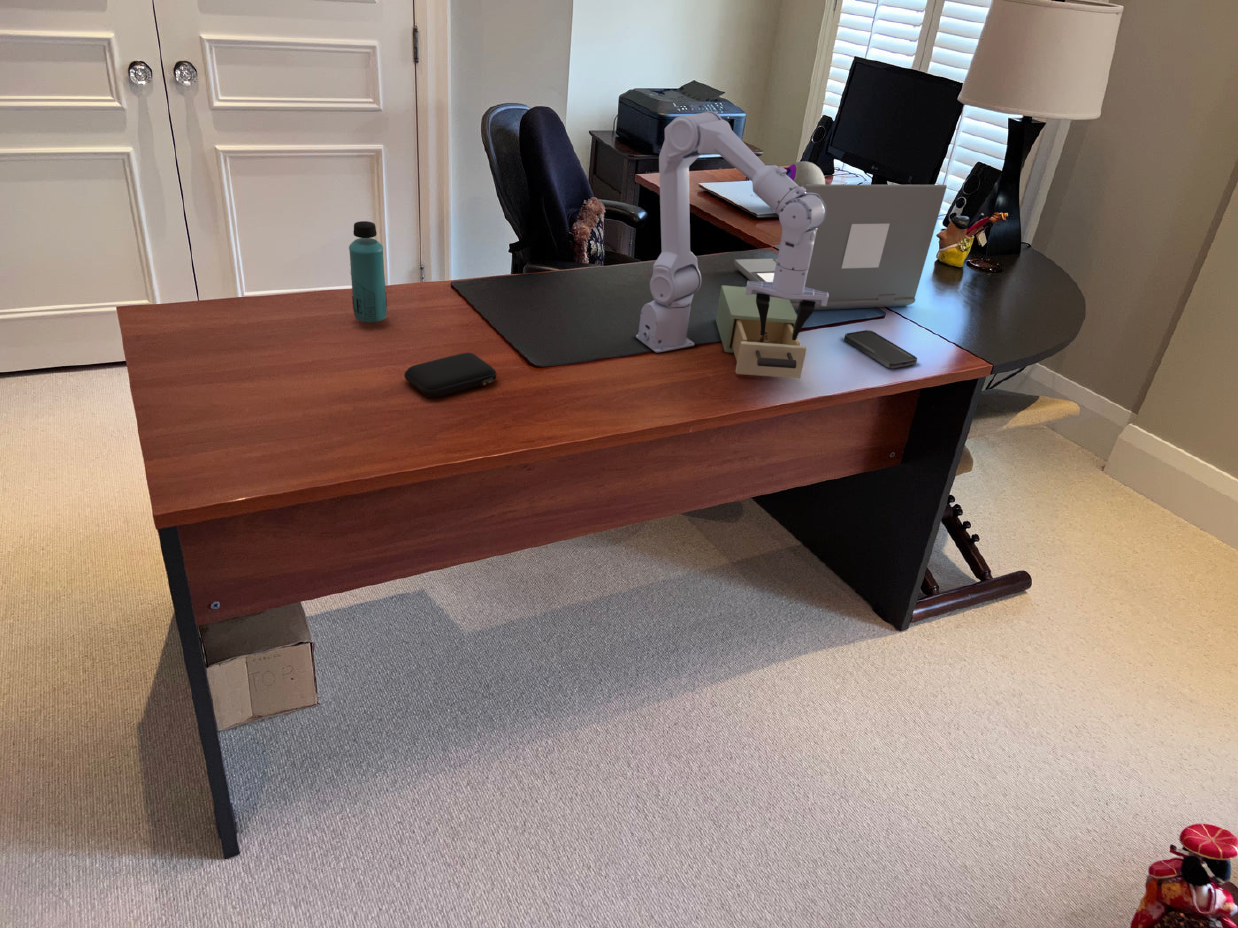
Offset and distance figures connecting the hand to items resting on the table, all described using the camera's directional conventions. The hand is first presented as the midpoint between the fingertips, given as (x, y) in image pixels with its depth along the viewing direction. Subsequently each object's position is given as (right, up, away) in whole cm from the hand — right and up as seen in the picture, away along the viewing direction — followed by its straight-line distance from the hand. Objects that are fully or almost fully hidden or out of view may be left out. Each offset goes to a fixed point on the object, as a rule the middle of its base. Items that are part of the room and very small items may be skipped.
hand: (778, 335), depth 166 cm
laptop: (+19, +18, +51) cm, 58 cm away
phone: (+25, 0, +23) cm, 34 cm away
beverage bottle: (-78, +4, +11) cm, 79 cm away
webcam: (+23, +50, +102) cm, 116 cm away
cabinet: (-1, +3, +22) cm, 22 cm away
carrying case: (-59, -10, -6) cm, 60 cm away
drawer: (-1, -4, +10) cm, 11 cm away
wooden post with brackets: (-1, -3, +10) cm, 11 cm away
